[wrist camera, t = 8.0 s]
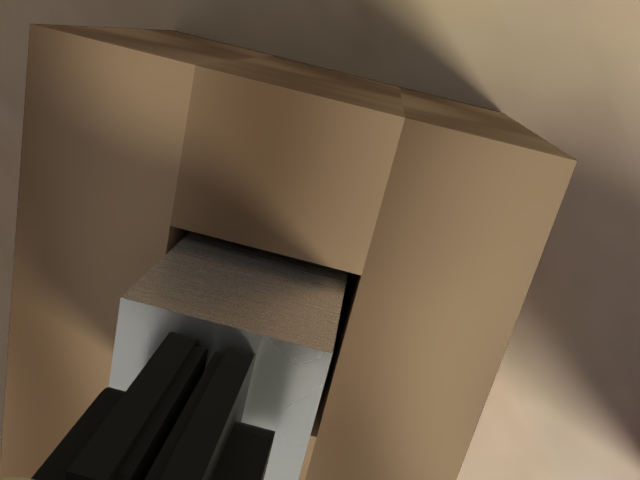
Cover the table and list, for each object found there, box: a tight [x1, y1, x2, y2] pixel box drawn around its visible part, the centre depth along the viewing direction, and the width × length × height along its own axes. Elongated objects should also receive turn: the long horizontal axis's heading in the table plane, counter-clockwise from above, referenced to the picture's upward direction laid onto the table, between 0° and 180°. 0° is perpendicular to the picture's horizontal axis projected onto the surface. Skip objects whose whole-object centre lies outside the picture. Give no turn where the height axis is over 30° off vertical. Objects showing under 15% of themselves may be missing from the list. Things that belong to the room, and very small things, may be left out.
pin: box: [109, 231, 348, 480], centre depth 15 cm, size 4×4×8 cm
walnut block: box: [0, 24, 577, 480], centre depth 21 cm, size 12×26×9 cm, turn 168°
